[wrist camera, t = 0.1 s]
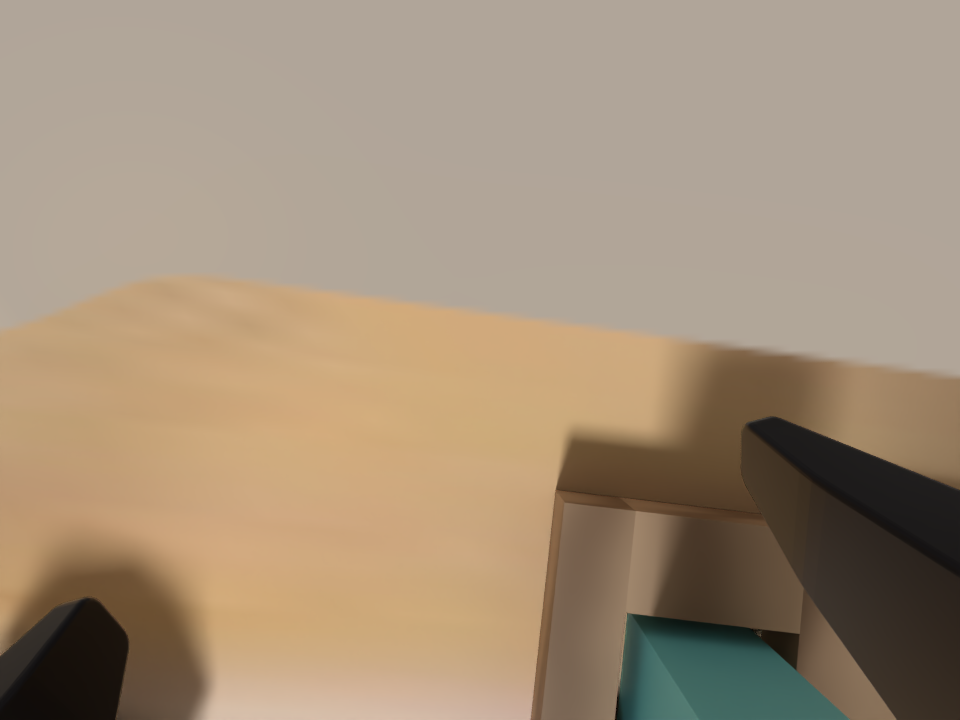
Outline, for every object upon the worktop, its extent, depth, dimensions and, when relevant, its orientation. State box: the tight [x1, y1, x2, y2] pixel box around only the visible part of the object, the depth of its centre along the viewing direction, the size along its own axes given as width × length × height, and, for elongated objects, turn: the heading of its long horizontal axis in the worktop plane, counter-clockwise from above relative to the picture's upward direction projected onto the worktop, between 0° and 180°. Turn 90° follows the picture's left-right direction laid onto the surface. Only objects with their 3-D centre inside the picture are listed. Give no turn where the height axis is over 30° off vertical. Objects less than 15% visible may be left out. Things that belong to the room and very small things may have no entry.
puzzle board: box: [531, 490, 896, 720], centre depth 21 cm, size 22×13×3 cm, turn 83°
